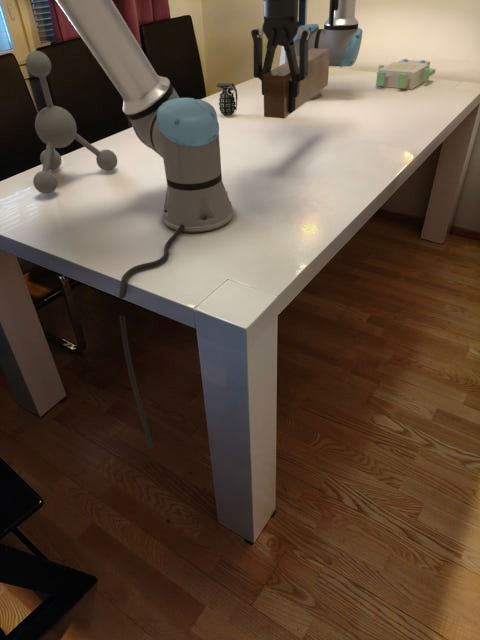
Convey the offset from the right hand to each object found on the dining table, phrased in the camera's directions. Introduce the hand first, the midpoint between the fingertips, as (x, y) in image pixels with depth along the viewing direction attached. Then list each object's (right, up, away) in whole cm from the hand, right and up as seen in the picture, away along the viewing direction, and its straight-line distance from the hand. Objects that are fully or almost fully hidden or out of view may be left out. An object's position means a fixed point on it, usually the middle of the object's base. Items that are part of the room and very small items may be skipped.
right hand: (305, 27), depth 129 cm
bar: (-2, -20, -1) cm, 20 cm away
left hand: (-7, -27, -11) cm, 29 cm away
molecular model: (-61, -39, +2) cm, 72 cm away
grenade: (-21, -6, +41) cm, 46 cm away
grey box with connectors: (+48, +17, +65) cm, 83 cm away
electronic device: (+7, +28, +83) cm, 88 cm away
